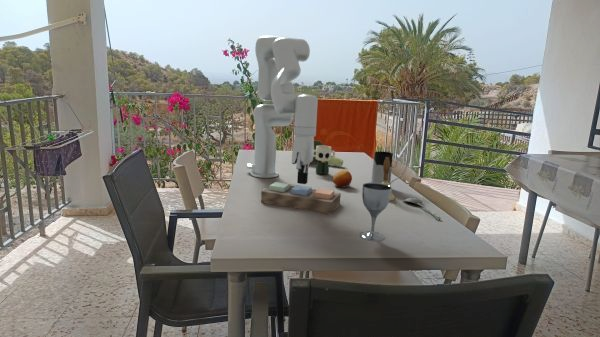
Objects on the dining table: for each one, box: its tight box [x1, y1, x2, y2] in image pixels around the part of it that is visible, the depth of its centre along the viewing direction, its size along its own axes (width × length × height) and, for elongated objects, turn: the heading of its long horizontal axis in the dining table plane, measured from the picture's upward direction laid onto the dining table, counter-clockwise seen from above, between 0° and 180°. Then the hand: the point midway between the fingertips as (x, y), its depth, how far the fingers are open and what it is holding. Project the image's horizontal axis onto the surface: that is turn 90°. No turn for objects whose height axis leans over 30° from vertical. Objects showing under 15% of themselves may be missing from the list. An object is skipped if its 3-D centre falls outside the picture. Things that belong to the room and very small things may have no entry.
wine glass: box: [359, 182, 392, 242], centre depth 114 cm, size 8×8×15 cm
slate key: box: [291, 184, 313, 196], centre depth 141 cm, size 6×6×3 cm
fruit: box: [332, 169, 353, 188], centre depth 168 cm, size 8×8×8 cm
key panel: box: [260, 185, 342, 215], centre depth 142 cm, size 26×12×4 cm, turn 70°
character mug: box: [313, 144, 336, 175], centre depth 187 cm, size 11×7×13 cm, turn 94°
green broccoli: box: [310, 139, 344, 168], centre depth 210 cm, size 25×12×11 cm, turn 59°
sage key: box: [269, 181, 291, 192], centre depth 144 cm, size 6×6×3 cm
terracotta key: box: [314, 187, 335, 200], centre depth 139 cm, size 6×6×3 cm
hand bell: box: [382, 157, 396, 202], centre depth 153 cm, size 8×8×16 cm
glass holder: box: [370, 151, 408, 185], centre depth 167 cm, size 9×14×15 cm, turn 70°
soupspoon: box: [403, 197, 442, 221], centre depth 143 cm, size 22×3×7 cm
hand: (302, 183), depth 141 cm, fingers closed
